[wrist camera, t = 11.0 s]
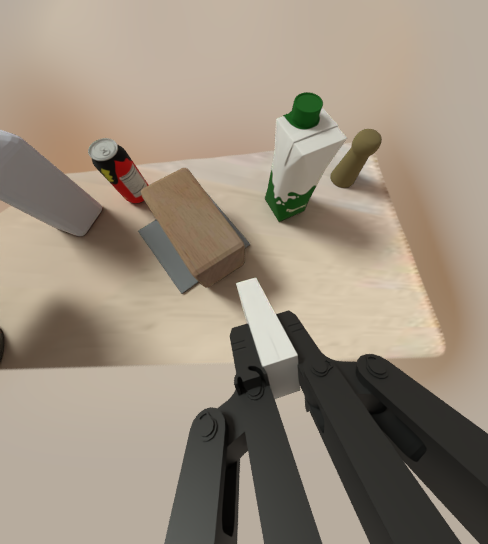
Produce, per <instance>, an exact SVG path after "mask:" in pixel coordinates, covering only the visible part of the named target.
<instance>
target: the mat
mask: <svg viewBox="0 0 488 544" xmlns="http://www.w3.org/2000/svg"><path fill="white" fill-rule="evenodd" d="M207 195H208V194H207ZM210 199H211V198H210ZM211 200H212V199H211ZM212 201H213V200H212ZM213 203H214V201H213ZM214 204H215V203H214ZM215 205H216V204H215ZM216 207H217V208H218V209H219V211H220V212H221V213H222V215H223V216H224V217H225V219H226V220H227V221H228V223H229V224H230V225H231V226H232V228H233V229H234V230H235V232H236V233H237V234H238V236H239V237H240V238H241V240H242V241H243V242H244V246H245V248H246V247H248V246H249V245H250V243H249V242H248V241H247V240H246V239H245V237H244V236H243V235H242V234H241V233H240V232H239V230H238V229H237V228H236V227H235V226H234V225H233V223H232V222H231V221H230V220H229V219H228V218H227V216H226V215H225V214H224V213H223V212H222V211H221V209H220V208H219V207H218V206H217V205H216ZM138 232H139V233H140V235H141V236H142V238H143V239H144V240H145V242H146V243H147V245H148V246H149V248H150V249H151V251H152V252H153V253H154V255H155V256H156V258H157V259H158V261H159V262H160V264H161V265H162V266H163V268H164V269H165V271H166V272H167V274H168V275H169V276H170V278H171V279H172V281H173V282H174V284H175V285H176V287H177V288H178V289H179V291H180V292H181V294H183V293H184V292H185V291H187V290H188V289H190V288H191V287H192V286H194V285H195V284H196V283H198V282H199V281H197V280H196V279H195V278H194V277H193V276H192V274H191V273H190V271H189V270H188V268H187V266H186V265H185V263H184V262H183V260H182V259H181V257H180V255H179V254H178V252H177V251H176V249H175V248H174V246H173V244H172V243H171V241H170V240H169V238H168V237H167V235H166V233H165V232H164V230H163V229H162V227H161V226H160V224H159V222H158V221H157V219H156V220H155V221H153V222H152V223H150V224H148V225H147V226H145V227H144V228H142V229H140V230H139V231H138Z"/></svg>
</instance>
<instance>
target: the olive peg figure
mask: <svg viewBox="0 0 488 544" xmlns="http://www.w3.org/2000/svg"><path fill="white" fill-rule="evenodd" d="M381 140H382V139H381V135H380V134H379V133H378V132H377V131H375V130H373V129H364V130H362V131H360V132H359V133H358V134H357V135H356V136H355V138H354V140H353V142H352V147H351V149H350V150H349V151H348V152H347V154H346V155H345V156H344V158H343V159H342V160H341V161H340V163H339V164H338V165H337V166H336V168H335V169H334V170H333V171H332V173H331V181H332V182H333V183H334V184H335V185H336V186H338V187H341V188H347V187H350V186H351V185H352V184H353V183H354V181H355V180H356V178H357V176H358V175H359V173H360V171H361V169H362V168H363V166H364V164H365V163H366V161H367V159H368V157H369V156H370V155H372V154H374V153H375V152H376V151H377V149H378V148H379V146H380V144H381Z"/></svg>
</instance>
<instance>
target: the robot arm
mask: <svg viewBox="0 0 488 544" xmlns="http://www.w3.org/2000/svg"><path fill="white" fill-rule="evenodd" d="M236 285H237V289H238V293H239V297H240V301H241V304H242V308H243V312H244V315H245V318H246V322H247V324H244V325H241V326H238V327H234V328H232V330H231V333H230V340H231V346H232V351H233V357H234V363H235V368H236V375H235V378H234V385H235V388H236V390H235V392H234V394H233V395H232V397H231V398H230V399H229V400H228V401H226V402H225V403H224V404H223V405H221V406H220V407H219V408H207V409H204V410H203V411H201V412H200V413H199V414H198V415H197V416H196V418H195V419H194V421H193V423H192V426H191V428H190V432H189V437H188V442H187V446H186V450H185V454H184V459H183V463H182V469H181V473H180V477H179V481H178V486H177V490H176V494H175V499H174V503H173V508H172V512H171V516H170V521H169V525H168V530H167V534H166V539H165V543H164V544H237V529H238V500H239V471H240V458H241V457H242V456H243V455H244V453H246V452H247V451H248V452H249V458H250V464H251V470H252V476H253V481H254V487H255V493H256V499H257V504H258V510H259V516H260V522H261V527H262V533H263V539H264V544H322V542H321V539H320V536H319V532H318V530H317V526H316V523H315V520H314V517H313V514H312V511H311V508H310V505H309V502H308V499H307V496H306V493H305V490H304V487H303V484H302V481H301V478H300V475H299V472H298V469H297V466H296V463H295V460H294V457H293V454H292V451H291V448H290V445H289V442H288V438H287V435H286V432H285V429H284V426H283V423H282V420H281V418H280V414H279V411H278V408H277V405H276V402H275V399H276V398H279V397H282V396H285V395H288V394H291V393H294V392H297V391H300V386H301V389H302V391H303V393H304V395H305V407H306V411H307V412H309V411H310V413H311V415H312V417H313V420H314V422H315V424H316V426H317V428H318V430H319V433H320V435H321V437H322V439H323V442H324V444H325V446H326V448H327V450H328V453H329V455H330V457H331V459H332V461H333V464H334V466H335V468H336V470H337V472H338V474H339V476H340V479H341V481H342V483H343V485H344V488H345V490H346V492H347V494H348V496H349V499H350V501H351V503H352V505H353V507H354V510H355V511H356V514H357V516H358V518H359V520H360V523H361V525H362V527H363V529H364V531H365V534H366V535H367V538H368V540H369V542H370V544H461V543H460V541H459V540H458V538H457V537H456V536H455V534H454V532H453V531H452V530H451V528H450V527H449V525H448V524H447V523H446V521H445V520H444V518H443V517H442V516H441V514H440V513H439V511H438V510H437V508H436V507H435V506H434V504H433V503H432V502H431V500H430V499H429V497H428V496H427V494H426V493H425V491H424V490H423V489H422V488H421V486H420V484H419V483H418V481H417V480H416V479H415V477H414V476H413V474H412V473H411V471H410V470H409V469H408V467H407V466H406V465H405V463H406V464H407V465H408V466H409V468H410V469H411V470H412V471H413V472H414V473H415V474H416V475H417V476H418V477H419V478H420V480H422V482H423V483H424V484H425V485H426V486H427V487H428V488H429V489H430V490H431V491H432V492H433V494H434V495H435V496H436V497H437V498H438V499H439V500H440V501H441V502H442V503H443V504H444V506H445V507H446V508H447V509H448V510H449V511H450V512H451V513H452V514H453V515H454V516H455V517H456V518H457V519H458V521H459V522H460V523H461V524H462V525H463V526H464V527H465V528H466V529H467V530H468V531H469V532H470V534H471V535H472V536H473V537H474V538H475V539H476V540H477V541H478V542H479V543H480V544H488V434H487V433H486V432H485V431H483V430H482V429H481V428H479V427H478V426H476V425H475V424H474V423H472V422H471V421H470V420H468V419H467V418H465V417H464V416H463V415H461V414H460V413H459V412H457V411H456V410H454V409H453V408H452V407H450V406H449V405H448V404H446V403H445V402H444V401H442V400H441V399H440V398H438V397H437V396H435V395H434V394H433V393H431V392H430V391H429V390H427V389H426V388H424V387H423V386H422V385H420V384H419V383H417V382H416V381H415V380H413V379H412V378H411V377H409V376H408V375H406V374H405V373H404V372H403V371H401V370H400V369H398V368H397V367H395V366H394V365H393V364H392V363H390V362H389V361H387V360H386V359H384V358H382V357H380V356H377V355H374V354H365V355H363V356H360V358H359V359H358V360H357V362H342V361H335V360H332V359H330V358H328V357H326V356H325V355H324V354H323V353H322V352H321V351H320V350H319V348H318V347H317V345H316V344H315V343H314V341H313V340H312V338H311V337H310V335H309V334H308V332H307V331H306V329H305V328H304V326H303V325H302V323H301V322H300V320H299V319H298V317H297V316H296V315H295V314H293V313H292V312H290V311H286V312H282V313H279V314H275V312H274V310H273V308H272V306H271V305H270V303H269V301H268V299H267V297H266V295H265V293H264V292H263V290H262V288H261V286H260V284H259V282H258V280H257V278H252V279H249V280H245V281H242V282H238V283H236ZM3 348H4V340H3V335H2V332H1V330H0V361H1V358H2V354H3ZM403 461H404V462H405V463H404V462H403Z"/></svg>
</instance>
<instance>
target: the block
mask: <svg viewBox="0 0 488 544" xmlns="http://www.w3.org/2000/svg"><path fill="white" fill-rule="evenodd" d="M141 194H142V197H143V199H144V201H145V202H146V204H147V205H148V207H149V208H150V210H151V212H152V213H153V215H154V216H155V218H156V219H157V221H158V222H159V224H160V226H161V227H162V229H163V230H164V232H165V233H166V235H167V237H168V238H169V240H170V241H171V243H172V244H173V246H174V248H175V249H176V251H177V252H178V254H179V255H180V257H181V259H182V260H183V262H184V263H185V265H186V266H187V268H188V270H189V271H190V273H191V274H192V276H193V277H194V278H195V279H196V280H197V281H199V282H200V283H201V284H202V285H203V286H204V287H210V286H212V285H213V284H215V283H216V282H218V281H219V280H221V279H222V278H224V277H225V276H227V275H228V274H230V273H231V272H233V271H234V270H236V269H237V268H239V267H241V266H242V265H243V264H244V254H245V246H244V242H243V241H242V240H241V238H240V237H239V236H238V234H237V233H236V232H235V230H234V229H233V228H232V226H231V225H230V224H229V223H228V221H227V220H226V219H225V217H224V216H223V215H222V213H221V212H220V211H219V209H218V208H217V207H216V205H215V204H214V203H213V201H212V200H211V199H210V197H209V196H208V195H207V193H206V192H205V191H204V189H203V188H202V187H201V185H200V184H199V183H198V181H197V180H196V179H195V177H194V176H193V175H192V173H191V172H190V171H189V170H188V169H187V168H181V169H180V170H178V171H176V172H174V173H172V174H170V175H168V176H166V177H164V178H162V179H160V180H158V181H156V182H154V183H152V184H150V185H149V186H147V187H145V188H143V189H142V190H141Z"/></svg>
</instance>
